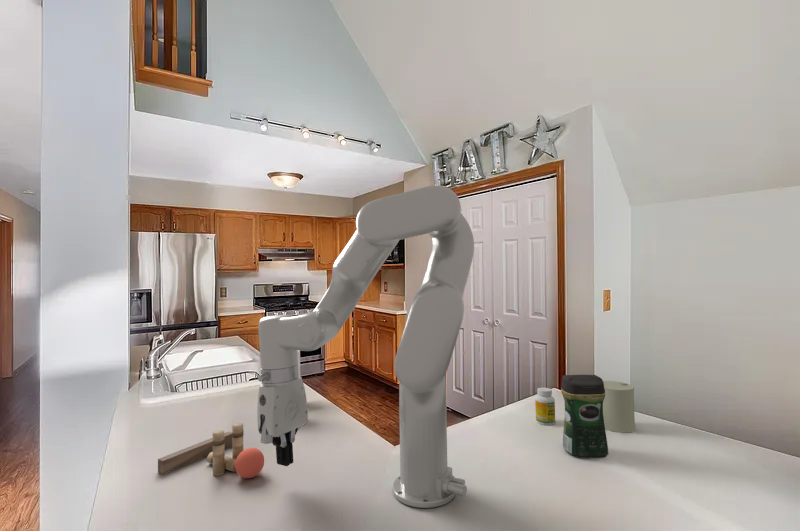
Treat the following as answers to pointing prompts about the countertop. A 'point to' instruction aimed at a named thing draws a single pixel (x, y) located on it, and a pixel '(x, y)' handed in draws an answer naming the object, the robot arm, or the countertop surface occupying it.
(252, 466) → the ball
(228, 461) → the front pin
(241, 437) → the right back pin
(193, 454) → the back wall
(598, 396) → the coffee jar
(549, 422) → the supplement bottle
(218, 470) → the left back pin
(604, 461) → the countertop surface
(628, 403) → the can
